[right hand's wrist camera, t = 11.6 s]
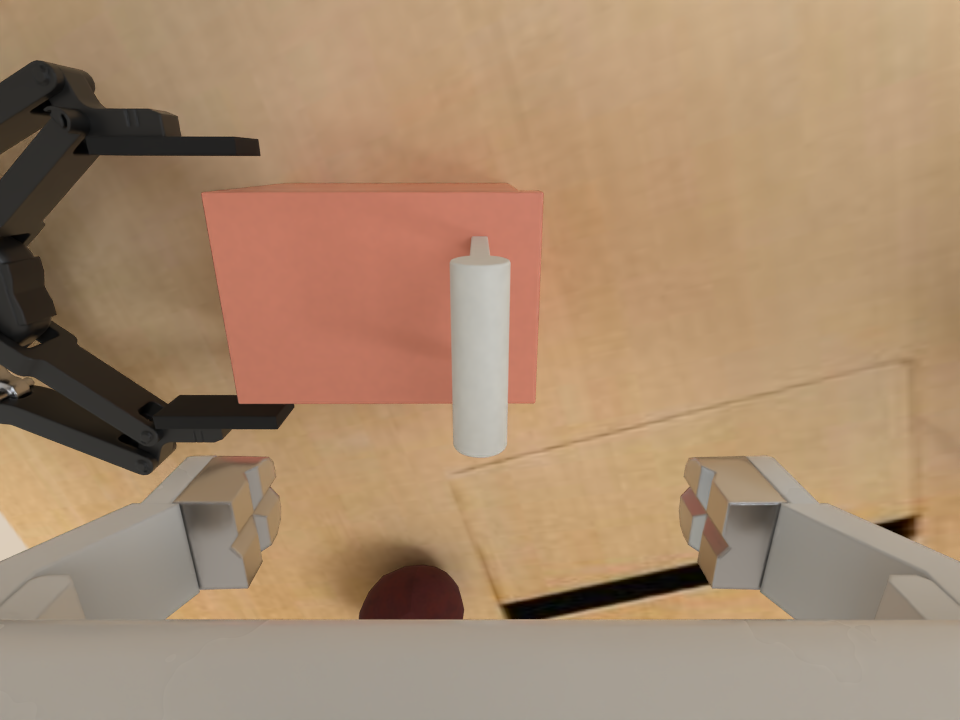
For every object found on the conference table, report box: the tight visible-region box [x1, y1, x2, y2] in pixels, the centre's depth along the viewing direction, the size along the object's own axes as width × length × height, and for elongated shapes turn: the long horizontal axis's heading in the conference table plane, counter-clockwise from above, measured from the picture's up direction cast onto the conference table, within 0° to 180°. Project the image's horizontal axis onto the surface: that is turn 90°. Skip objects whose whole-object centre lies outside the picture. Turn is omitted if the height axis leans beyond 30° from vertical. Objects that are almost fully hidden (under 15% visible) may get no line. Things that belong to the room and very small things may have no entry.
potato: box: [359, 565, 464, 620], centre depth 38 cm, size 7×8×7 cm
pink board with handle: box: [201, 191, 544, 458], centre depth 20 cm, size 14×10×9 cm
